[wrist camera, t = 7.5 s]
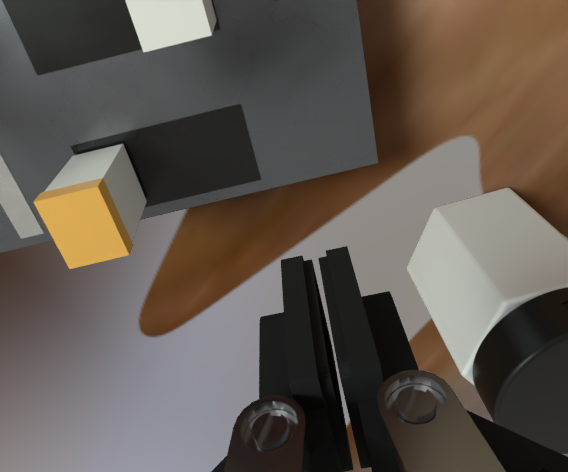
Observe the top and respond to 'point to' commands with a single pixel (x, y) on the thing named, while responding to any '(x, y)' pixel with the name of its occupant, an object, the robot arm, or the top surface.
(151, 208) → the breaker panel
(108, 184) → the paddle on
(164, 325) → the top surface
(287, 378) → the robot arm
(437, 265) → the jar
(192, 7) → the paddle
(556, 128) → the top surface
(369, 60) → the top surface
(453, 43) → the top surface
